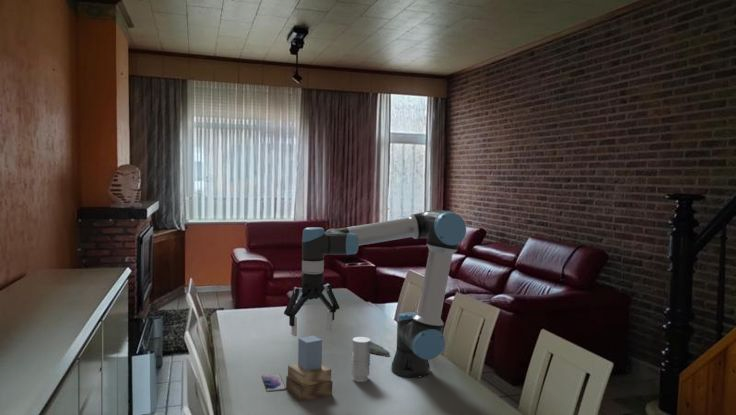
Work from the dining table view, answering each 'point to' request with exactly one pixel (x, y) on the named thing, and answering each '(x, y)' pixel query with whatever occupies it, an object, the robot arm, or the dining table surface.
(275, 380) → the smartphone
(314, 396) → the block
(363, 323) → the dining table surface
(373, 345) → the stone
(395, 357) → the robot arm
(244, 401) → the dining table surface
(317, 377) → the tower top
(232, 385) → the dining table surface
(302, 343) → the blue block
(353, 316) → the dining table surface
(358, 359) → the candle
